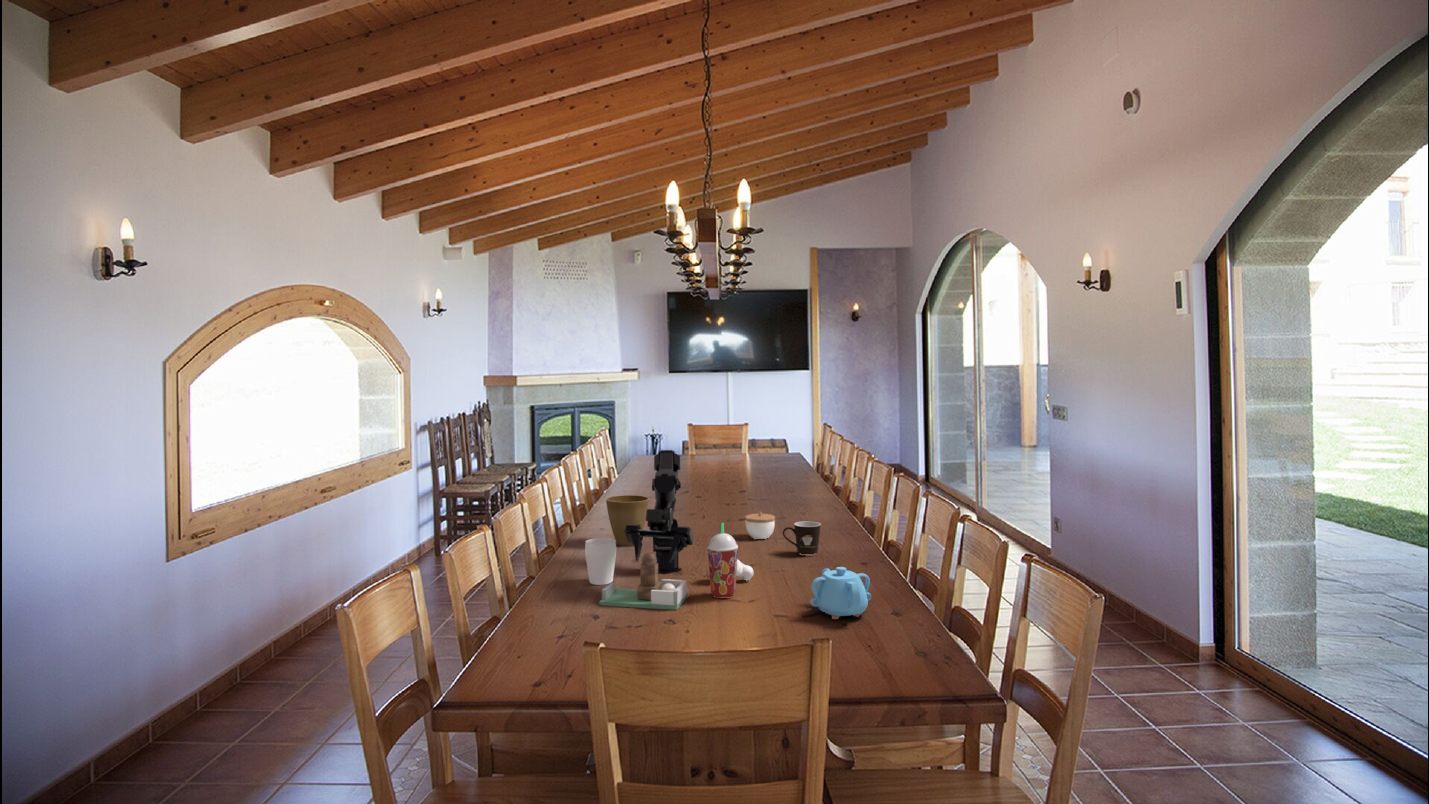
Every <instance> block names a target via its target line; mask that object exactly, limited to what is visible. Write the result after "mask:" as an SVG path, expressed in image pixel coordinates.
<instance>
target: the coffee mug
mask: <svg viewBox="0 0 1429 804" xmlns="http://www.w3.org/2000/svg"><path fill="white" fill-rule="evenodd" d="M821 525H822V523H820V522H817V521H806V520H804V521H797V522H794V525H793V526H794V528H793V527H790V526H789V527H786V528H784V529H783V531H782V535H783V537H784V539H785V540H787V542H789V543H790V544H792V545H794V547H796V552H798V553H801V554H814V553H817V554H818V549H819V542H820V533H821ZM787 530H790V531H792V532H793V534H794V535H795V540H796V541H795V542H796V543H795V542H794V541H793V540H790V538H788V537H787V536H786V534H785V531H787ZM798 553H797V554H798Z"/></svg>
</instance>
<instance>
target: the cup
mask: <svg viewBox="0 0 1429 804" xmlns="http://www.w3.org/2000/svg"><path fill="white" fill-rule="evenodd" d="M584 545H585V546H584V555H585V561H586V568H587V574H588V580H589V584H590V585H591V584H592V585H595V586H603V585H609V584H610V583H611V582H614V581H613V580H614V573H615V564H616V558H617V542H616V540H615V538H611V537H593V538H589V539H587V540H585V544H584Z"/></svg>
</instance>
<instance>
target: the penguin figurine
mask: <svg viewBox="0 0 1429 804" xmlns="http://www.w3.org/2000/svg"><path fill="white" fill-rule="evenodd" d="M737 577H741V578H742V579H743V581H744V580H746V582H748V581H747V580H749V581H750V580H751V578H752V577H754V569H753V568H752V566H751V565H747V564H744V563H742V562H741V561H740V560H739V559H738V558H737V572H736V578H737Z"/></svg>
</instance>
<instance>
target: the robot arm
mask: <svg viewBox="0 0 1429 804" xmlns="http://www.w3.org/2000/svg"><path fill="white" fill-rule="evenodd" d="M653 467H654V472H655V474H654V478H652V481H651V482H652V483H651V491H653V492H654V499H655V504H654V507H653V508H648V509H647V512H646V520H645V522H647V527H648V528H649V529H644V528H643V529H641V527H640V525H639V524H628V525H626V526H625V529H624V533H625V535H626V537H627V540H628V541H629V542H631V543H632V544H633V546H634V547H633V548H634V555H635V562H639V559H640V557H641V552H642V547H643V542H642V541H643V539H644V538H652V546H653V547H652V551H653V553H655V556H656V559H657V562H656V563H658V573H659V572H660V573H662V574H670V573H673V572H678V571H682V568H681V567H679V565H680V563H679V553H680V552H682V551H683V550H684V548H688V546H693V543H694V533H693V532H692V529H691V527H690V526H685V525H684V526H680V525H679V524H678V520H677V519H675V518H674V515H675V509H676V503H677V498H676V495H677V491H679V490H680V489H681V488H682V484H681V483H682V482H681V481H680V479H679V471H681V456H680V455H679V454H678V453H676V452H675V450H673V449H661V450H658V453H657V454H655V455H654V457H653Z"/></svg>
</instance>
